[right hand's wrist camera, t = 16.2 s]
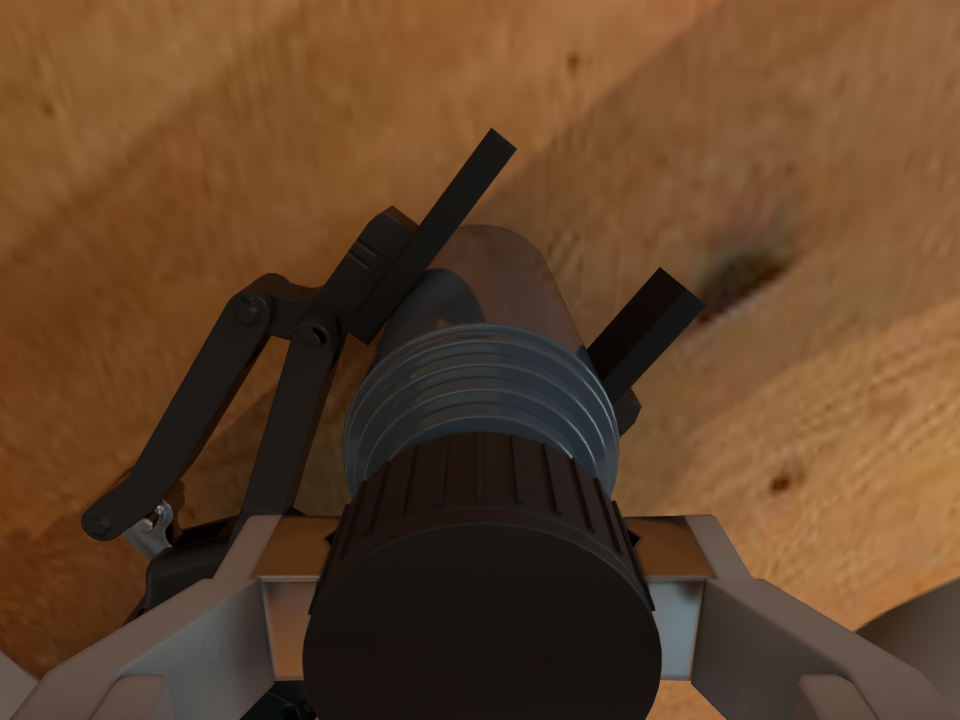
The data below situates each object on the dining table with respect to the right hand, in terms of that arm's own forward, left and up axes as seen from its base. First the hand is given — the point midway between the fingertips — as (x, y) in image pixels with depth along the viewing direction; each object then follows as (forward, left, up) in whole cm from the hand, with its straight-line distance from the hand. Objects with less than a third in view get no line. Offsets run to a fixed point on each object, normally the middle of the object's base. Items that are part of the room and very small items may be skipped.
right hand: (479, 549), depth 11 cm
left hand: (-2, -5, -9) cm, 11 cm away
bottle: (0, 0, -15) cm, 15 cm away
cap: (0, 0, +2) cm, 2 cm away
